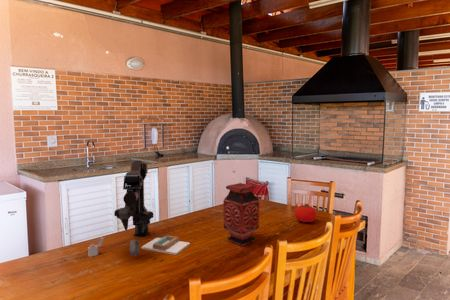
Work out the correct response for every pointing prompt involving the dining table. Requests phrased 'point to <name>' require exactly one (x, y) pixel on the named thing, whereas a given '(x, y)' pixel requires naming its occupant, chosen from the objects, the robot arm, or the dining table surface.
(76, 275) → the dining table surface
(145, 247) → the seat board
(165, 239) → the bar
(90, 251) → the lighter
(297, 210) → the tomato
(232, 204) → the vase
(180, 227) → the dining table surface
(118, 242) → the dining table surface
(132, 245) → the grey block
